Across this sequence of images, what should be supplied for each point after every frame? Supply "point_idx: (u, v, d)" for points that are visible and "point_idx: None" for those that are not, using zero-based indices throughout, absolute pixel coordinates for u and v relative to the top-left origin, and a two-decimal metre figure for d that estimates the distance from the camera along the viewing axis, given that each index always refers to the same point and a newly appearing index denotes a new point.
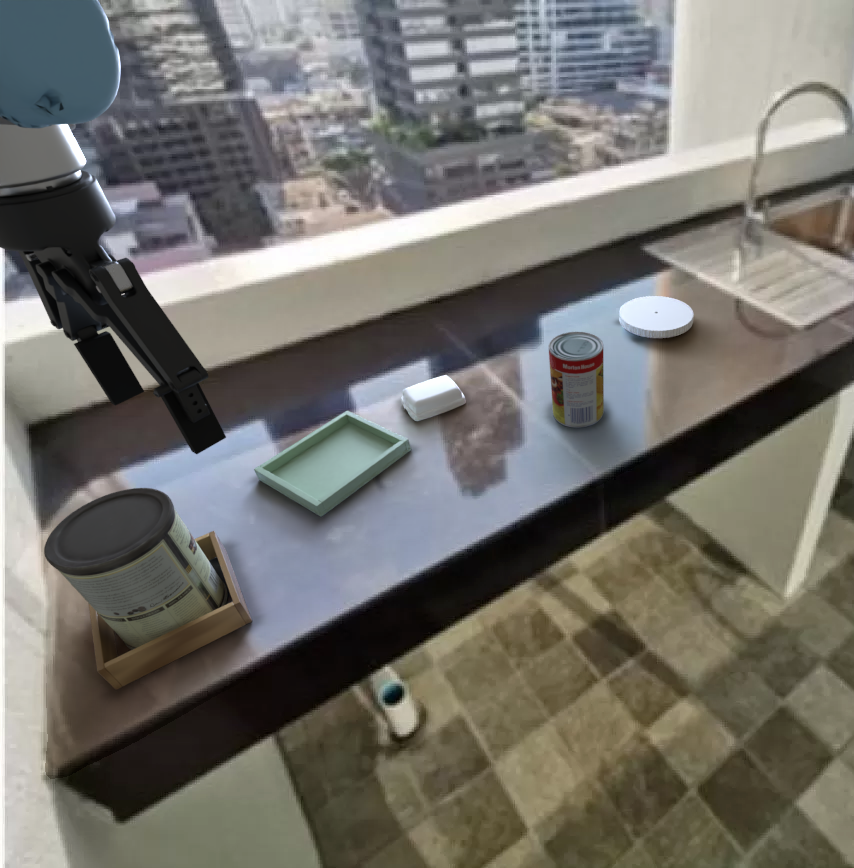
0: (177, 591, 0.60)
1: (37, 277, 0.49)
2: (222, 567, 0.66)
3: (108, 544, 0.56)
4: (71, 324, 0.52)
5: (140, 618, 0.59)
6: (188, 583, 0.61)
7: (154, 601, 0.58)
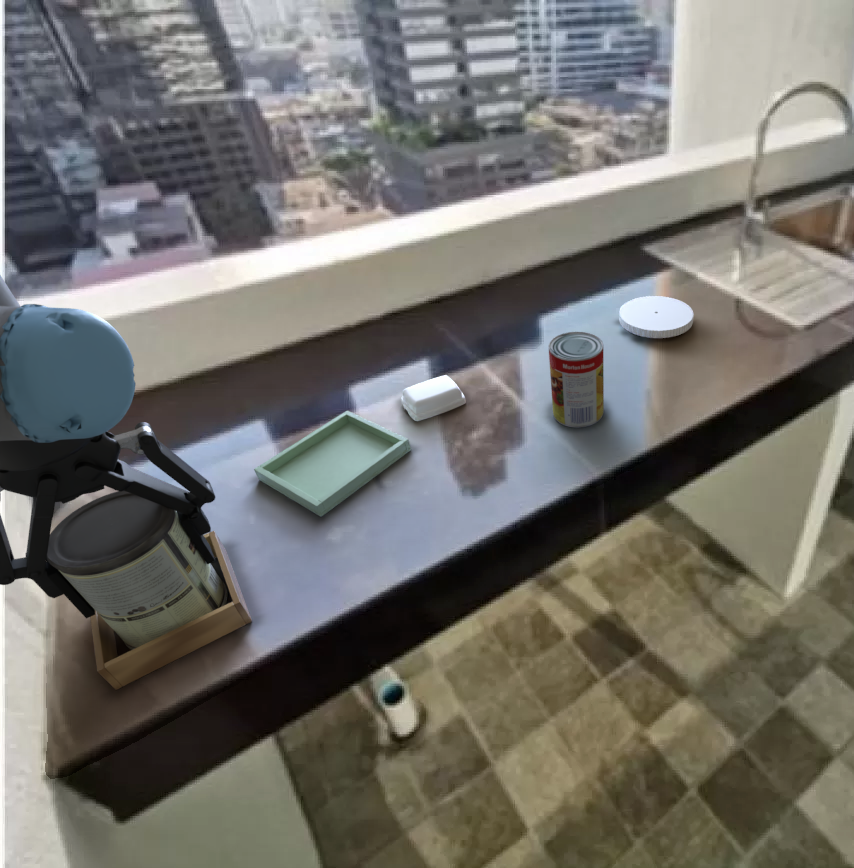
0: (177, 591, 0.60)
1: None
2: (222, 567, 0.66)
3: (108, 543, 0.56)
4: (47, 549, 0.54)
5: (140, 618, 0.59)
6: (188, 583, 0.61)
7: (154, 600, 0.58)
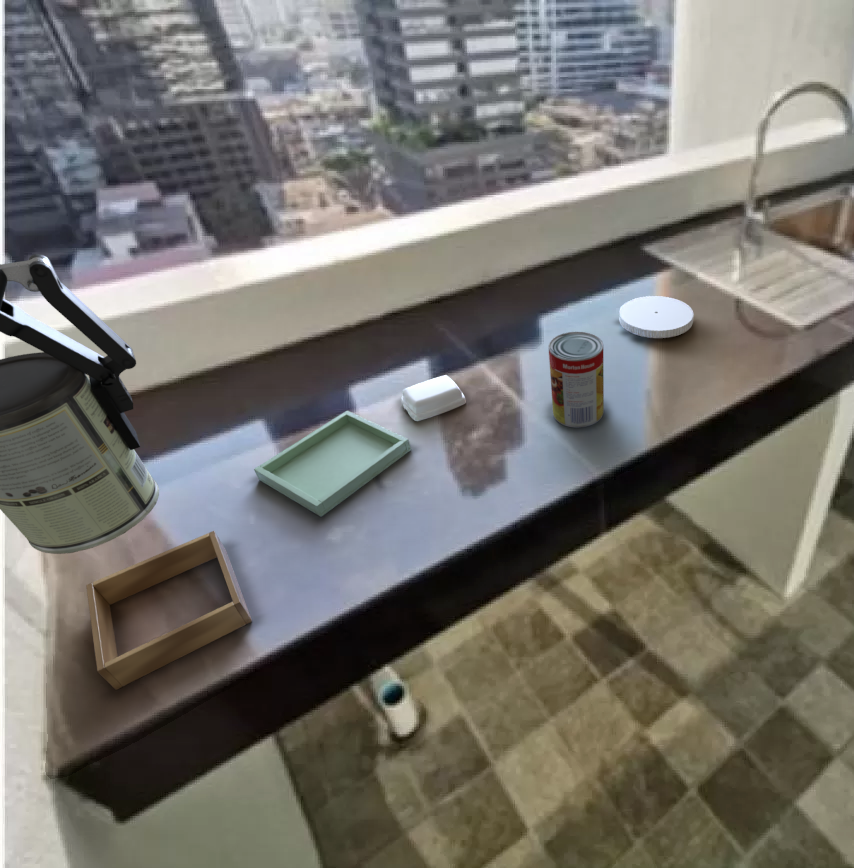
0: (87, 473, 0.50)
1: None
2: (222, 567, 0.66)
3: None
4: None
5: (40, 502, 0.48)
6: (102, 466, 0.51)
7: (57, 481, 0.48)
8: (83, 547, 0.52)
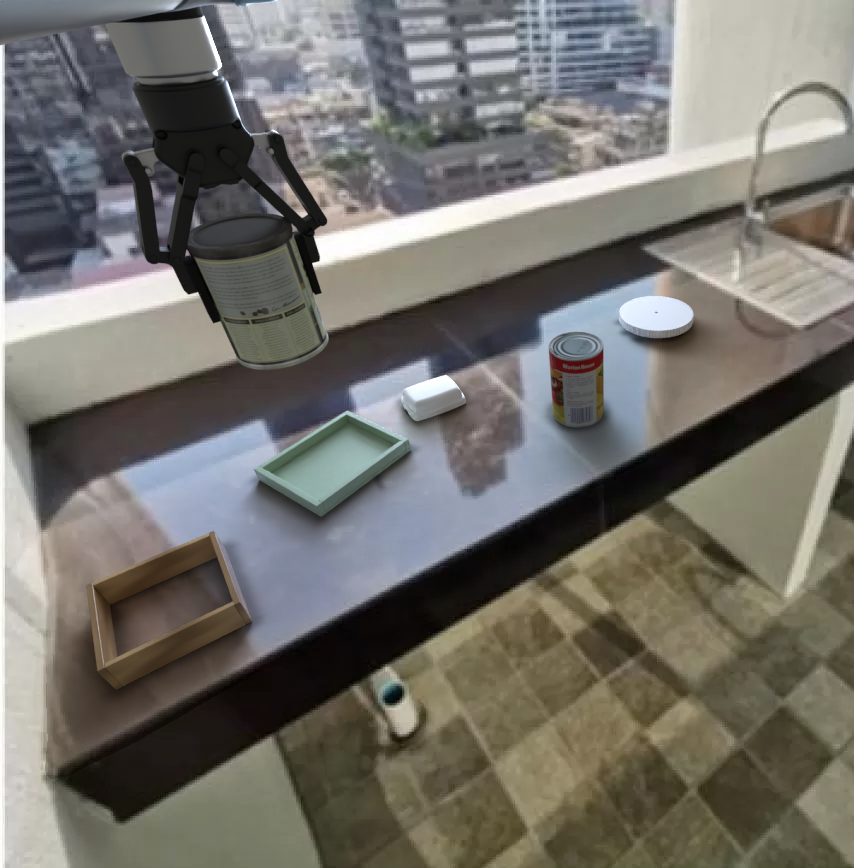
0: (294, 302, 0.65)
1: (152, 194, 0.56)
2: (222, 567, 0.66)
3: (240, 239, 0.61)
4: (188, 236, 0.59)
5: (262, 321, 0.64)
6: (302, 299, 0.66)
7: (276, 305, 0.64)
8: (284, 365, 0.68)
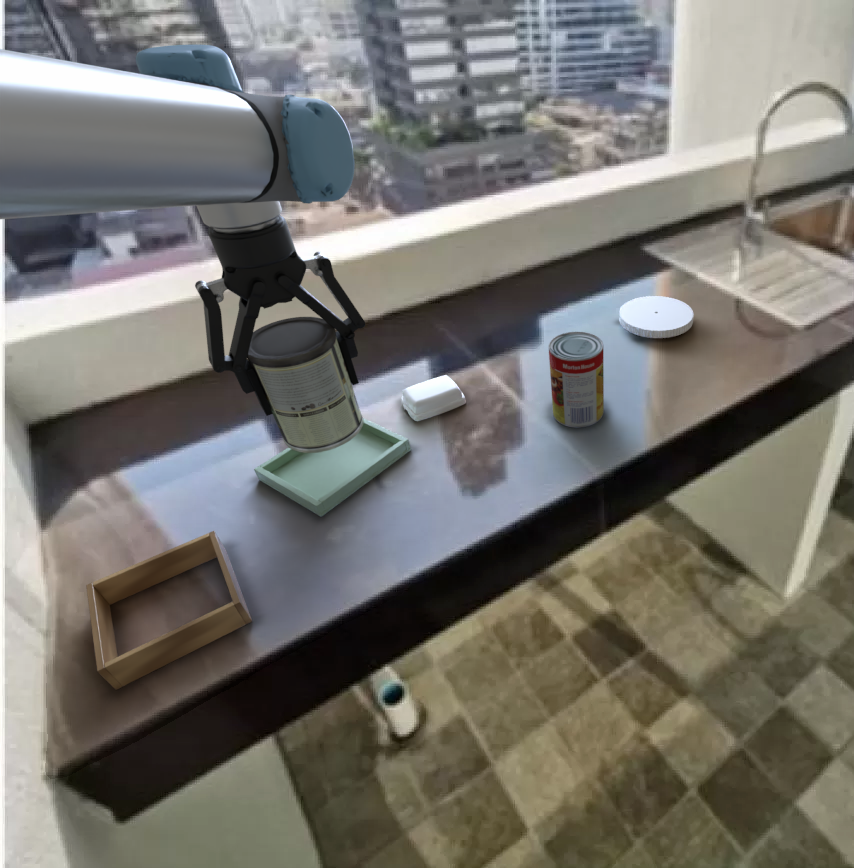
0: (336, 396, 0.75)
1: (221, 317, 0.65)
2: (222, 567, 0.66)
3: (292, 347, 0.70)
4: (249, 347, 0.69)
5: (310, 414, 0.73)
6: (343, 392, 0.76)
7: (321, 400, 0.73)
8: (326, 448, 0.77)
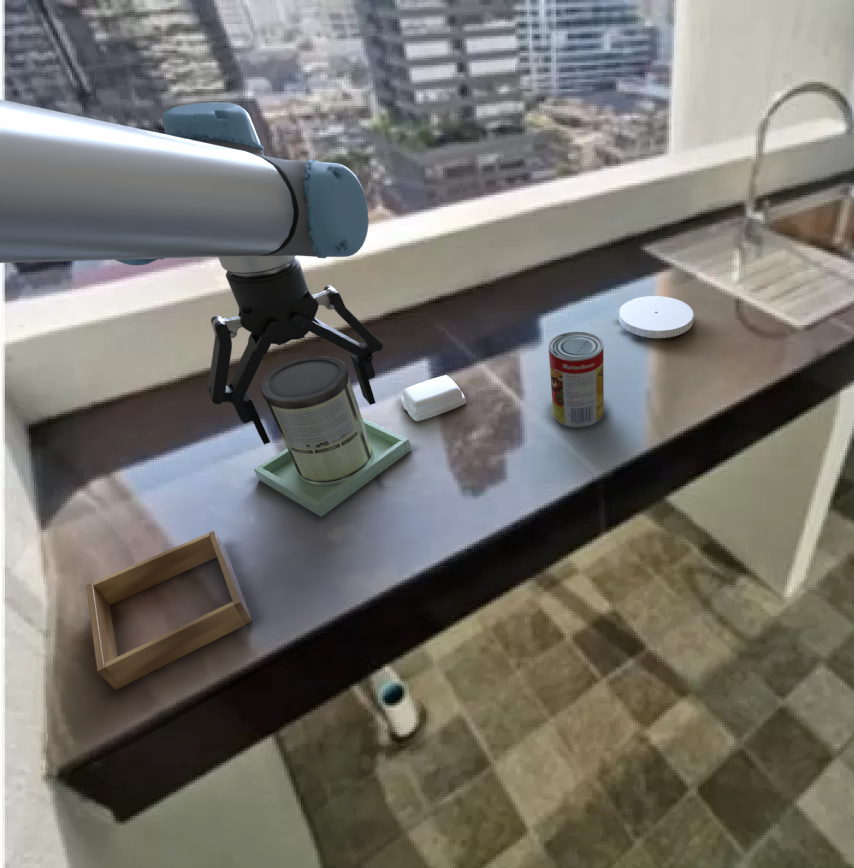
0: (349, 433, 0.78)
1: (230, 352, 0.68)
2: (222, 567, 0.66)
3: (307, 388, 0.74)
4: (251, 380, 0.71)
5: (323, 451, 0.77)
6: (355, 429, 0.79)
7: (335, 437, 0.77)
8: (339, 482, 0.81)
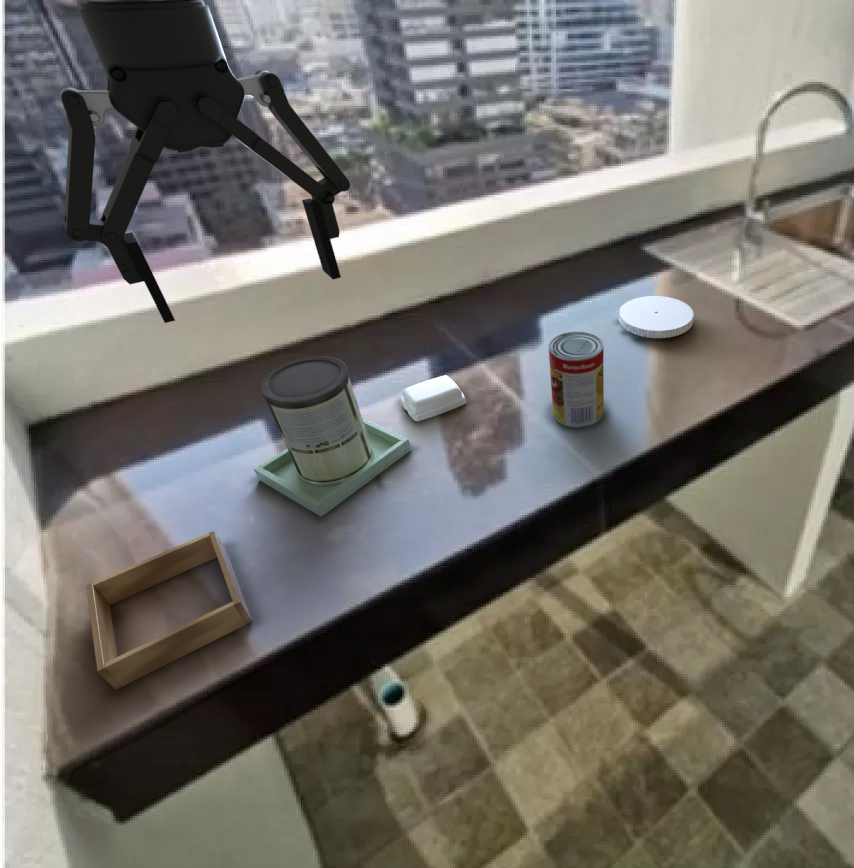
0: (349, 433, 0.78)
1: (94, 149, 0.41)
2: (222, 567, 0.66)
3: (307, 388, 0.74)
4: (135, 208, 0.44)
5: (323, 451, 0.77)
6: (355, 429, 0.79)
7: (335, 437, 0.77)
8: (339, 482, 0.81)
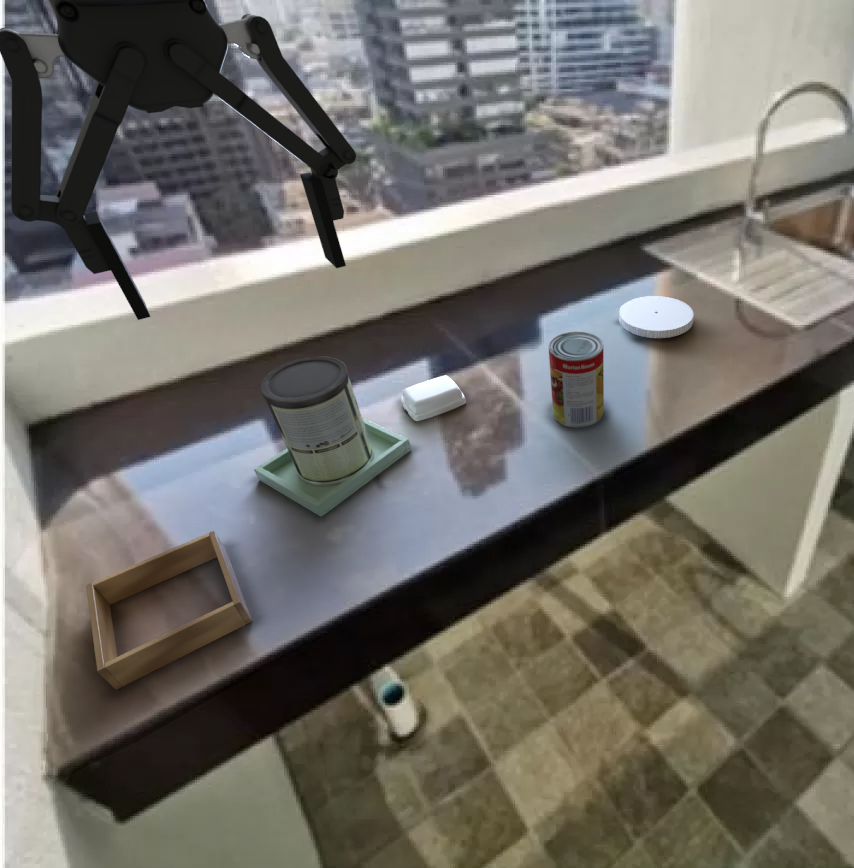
0: (349, 433, 0.78)
1: (41, 107, 0.34)
2: (222, 567, 0.66)
3: (307, 388, 0.74)
4: (96, 181, 0.37)
5: (323, 451, 0.77)
6: (355, 429, 0.79)
7: (335, 437, 0.77)
8: (339, 482, 0.81)
